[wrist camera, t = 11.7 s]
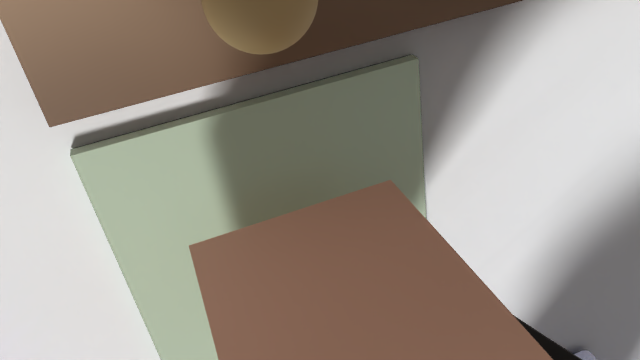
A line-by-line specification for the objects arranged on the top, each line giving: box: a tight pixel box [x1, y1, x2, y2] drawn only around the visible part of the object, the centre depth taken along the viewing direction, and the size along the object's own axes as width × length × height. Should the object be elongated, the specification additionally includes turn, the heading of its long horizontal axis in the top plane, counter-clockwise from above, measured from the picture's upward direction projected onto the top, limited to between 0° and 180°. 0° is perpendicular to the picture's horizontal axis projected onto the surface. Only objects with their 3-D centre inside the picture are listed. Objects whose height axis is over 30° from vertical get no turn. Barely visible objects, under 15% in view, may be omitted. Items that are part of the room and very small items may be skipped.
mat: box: [70, 54, 426, 360], centre depth 15 cm, size 8×8×1 cm
